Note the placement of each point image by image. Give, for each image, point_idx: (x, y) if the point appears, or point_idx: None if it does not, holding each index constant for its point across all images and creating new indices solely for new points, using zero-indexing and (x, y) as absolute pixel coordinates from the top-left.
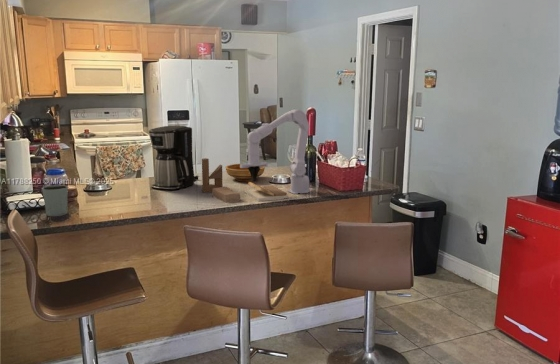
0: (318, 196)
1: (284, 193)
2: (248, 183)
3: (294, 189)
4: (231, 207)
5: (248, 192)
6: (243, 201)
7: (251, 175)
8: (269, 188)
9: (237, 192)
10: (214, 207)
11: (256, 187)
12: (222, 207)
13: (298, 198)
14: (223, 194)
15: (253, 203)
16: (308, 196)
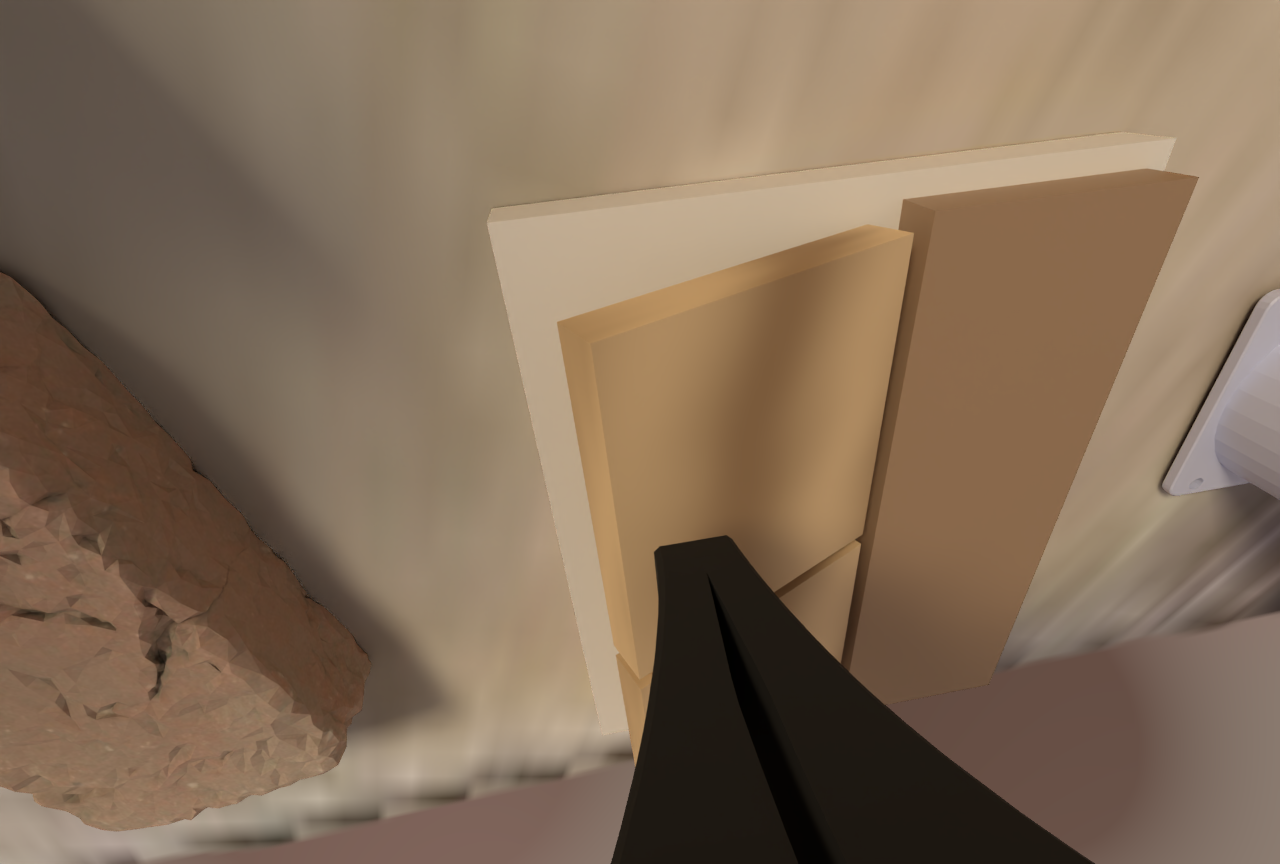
0: (1269, 596)
1: (957, 685)
2: (563, 345)
3: (1262, 482)
4: (279, 842)
5: (531, 418)
6: (416, 696)
7: (664, 686)
8: (956, 433)
9: (291, 748)
10: (71, 846)
11: (636, 735)
12: (173, 844)
13: (1046, 640)
14: (45, 795)
15: (526, 754)
16: (1195, 586)
